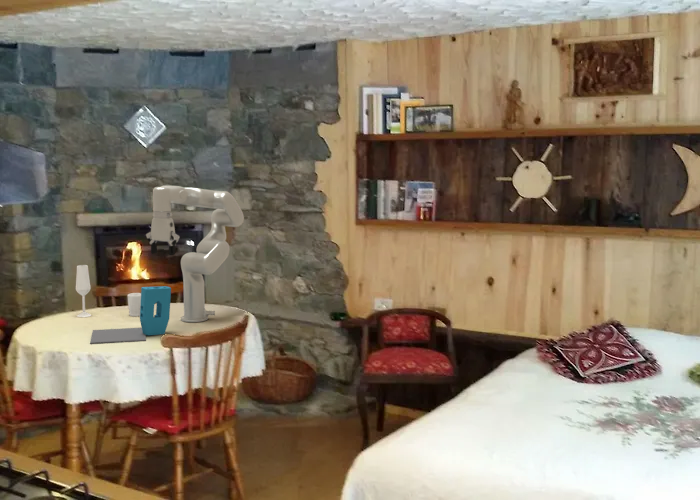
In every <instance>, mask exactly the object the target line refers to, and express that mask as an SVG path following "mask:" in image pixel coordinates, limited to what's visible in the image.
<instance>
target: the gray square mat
mask: <svg viewBox="0 0 700 500" xmlns="http://www.w3.org/2000/svg"><path fill="white" fill-rule="evenodd" d="M146 336H147V335H145V334H143V332H142V327H126V328H123V327H122V328H110V329H109V328H108V329H107V328H104V329H103V328H102V329H92V331H91V336H90V337H91V338H90V341H89V344H90V345H98V344H99V345H100V344H115V343H116V344H117V343H133V342H134V343H135V342H147V339H146V338H147V337H146Z"/></svg>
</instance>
